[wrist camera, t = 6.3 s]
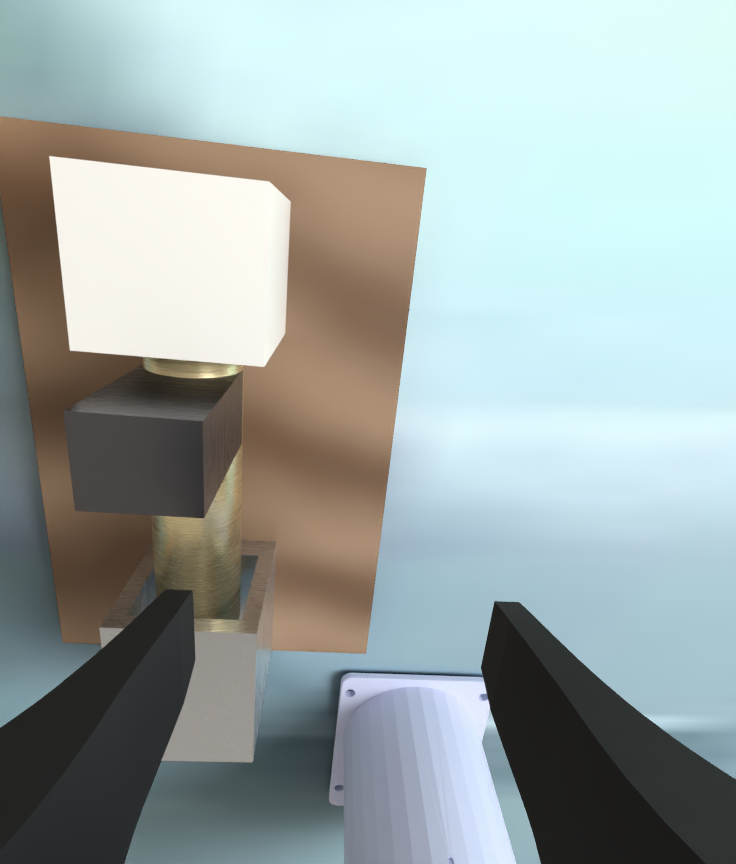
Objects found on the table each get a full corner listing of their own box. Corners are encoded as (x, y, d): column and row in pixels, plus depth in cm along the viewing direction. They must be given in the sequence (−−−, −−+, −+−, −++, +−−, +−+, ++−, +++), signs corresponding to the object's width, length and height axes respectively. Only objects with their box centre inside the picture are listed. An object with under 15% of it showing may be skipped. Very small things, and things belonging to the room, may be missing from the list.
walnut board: (365, 638, 25) (365, 653, 24) (73, 626, 24) (62, 642, 23) (421, 172, 18) (426, 168, 17) (8, 122, 17) (-11, 115, 16)
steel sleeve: (271, 650, 24) (253, 762, 18) (163, 646, 23) (113, 759, 18) (276, 541, 22) (256, 633, 16) (157, 534, 21) (99, 627, 16)
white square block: (285, 333, 19) (264, 366, 13) (146, 321, 18) (69, 350, 13) (290, 201, 17) (269, 181, 12) (139, 184, 17) (49, 155, 11)
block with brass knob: (249, 590, 21) (210, 735, 15) (170, 586, 20) (97, 733, 14) (256, 245, 16) (205, 244, 10) (154, 235, 16) (36, 226, 10)
